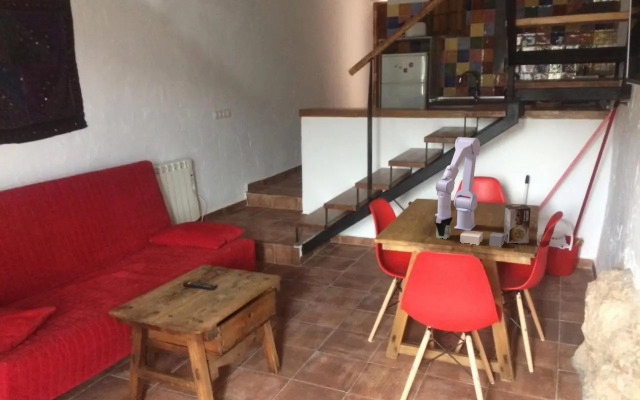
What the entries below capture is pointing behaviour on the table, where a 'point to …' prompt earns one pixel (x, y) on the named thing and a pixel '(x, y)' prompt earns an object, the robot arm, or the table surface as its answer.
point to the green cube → (446, 234)
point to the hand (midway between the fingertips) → (443, 234)
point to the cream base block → (471, 237)
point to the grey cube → (496, 239)
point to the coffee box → (517, 224)
